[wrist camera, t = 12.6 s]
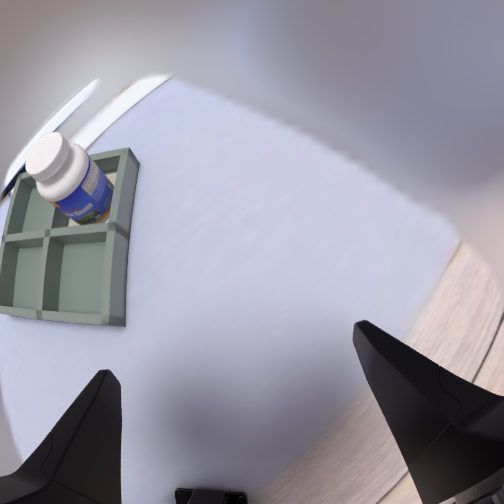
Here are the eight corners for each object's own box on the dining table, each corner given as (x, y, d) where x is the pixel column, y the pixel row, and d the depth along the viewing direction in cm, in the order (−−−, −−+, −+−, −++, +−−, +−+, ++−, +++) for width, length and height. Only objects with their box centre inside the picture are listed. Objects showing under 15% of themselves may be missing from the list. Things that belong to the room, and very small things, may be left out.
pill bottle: (71, 230, 25) (10, 188, 16) (81, 183, 26) (31, 133, 17) (113, 227, 25) (55, 178, 15) (122, 178, 26) (77, 118, 17)
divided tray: (125, 326, 23) (109, 325, 20) (11, 315, 23) (-7, 312, 20) (139, 163, 27) (129, 147, 24) (31, 185, 27) (18, 174, 25)
